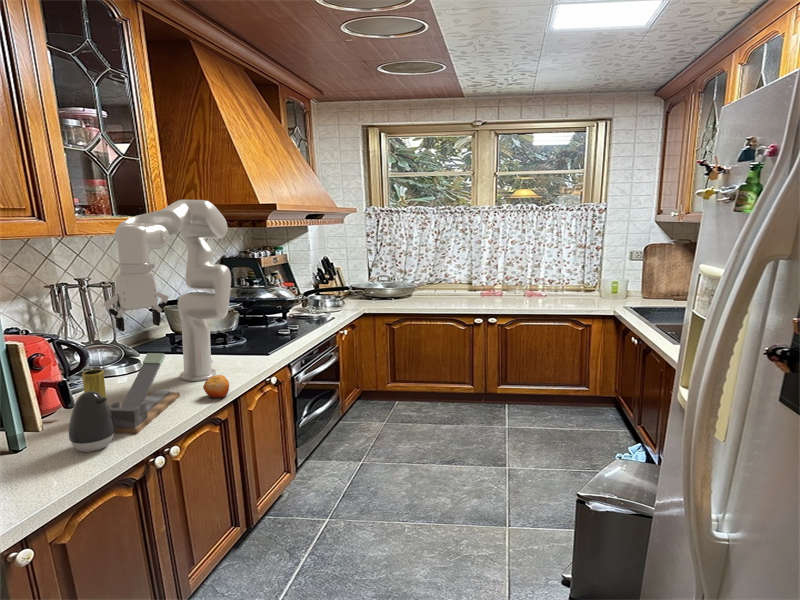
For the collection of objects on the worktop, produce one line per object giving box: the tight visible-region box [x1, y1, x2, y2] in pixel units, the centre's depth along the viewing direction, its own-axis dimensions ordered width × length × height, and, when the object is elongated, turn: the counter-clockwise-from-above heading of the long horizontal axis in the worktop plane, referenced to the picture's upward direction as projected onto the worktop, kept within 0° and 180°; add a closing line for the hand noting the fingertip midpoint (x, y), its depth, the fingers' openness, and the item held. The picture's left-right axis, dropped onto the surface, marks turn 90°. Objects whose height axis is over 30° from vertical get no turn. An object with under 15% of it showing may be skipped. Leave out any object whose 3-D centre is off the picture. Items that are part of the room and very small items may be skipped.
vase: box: [81, 368, 108, 404], centre depth 143 cm, size 6×6×14 cm
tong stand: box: [108, 389, 181, 435], centre depth 148 cm, size 28×10×6 cm, turn 1°
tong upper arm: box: [120, 352, 166, 408], centre depth 147 cm, size 23×6×2 cm
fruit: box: [203, 374, 230, 399], centre depth 164 cm, size 8×8×8 cm
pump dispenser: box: [68, 391, 115, 453], centre depth 126 cm, size 10×10×15 cm
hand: (139, 327), depth 141 cm, fingers open, 9 cm apart
